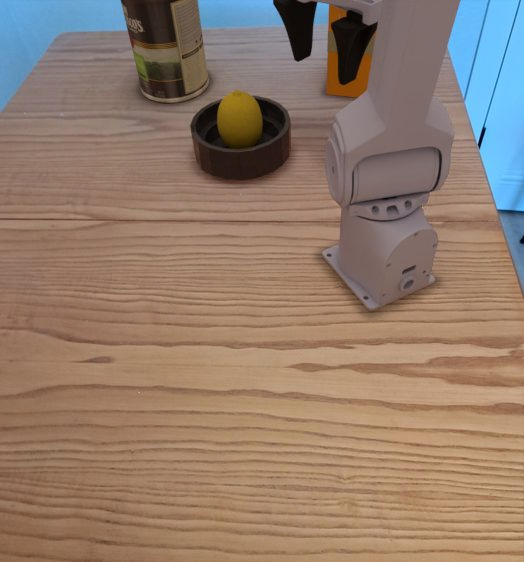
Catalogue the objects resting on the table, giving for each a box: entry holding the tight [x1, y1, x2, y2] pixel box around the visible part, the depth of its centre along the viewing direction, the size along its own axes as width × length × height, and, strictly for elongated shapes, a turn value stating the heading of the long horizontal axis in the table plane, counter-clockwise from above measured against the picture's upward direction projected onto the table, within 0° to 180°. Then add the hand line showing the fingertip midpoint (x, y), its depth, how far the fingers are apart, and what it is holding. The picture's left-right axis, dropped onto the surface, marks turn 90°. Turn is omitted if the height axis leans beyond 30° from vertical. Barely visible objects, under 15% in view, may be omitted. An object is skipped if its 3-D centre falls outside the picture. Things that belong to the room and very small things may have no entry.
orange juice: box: [326, 4, 377, 98], centre depth 75 cm, size 8×9×20 cm
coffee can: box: [120, 0, 210, 104], centre depth 79 cm, size 10×10×14 cm
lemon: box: [217, 89, 263, 149], centre depth 70 cm, size 6×6×8 cm
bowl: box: [189, 95, 292, 181], centre depth 72 cm, size 12×12×4 cm
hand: (324, 69), depth 67 cm, fingers open, 7 cm apart
